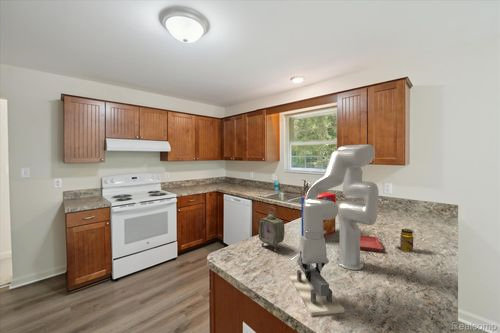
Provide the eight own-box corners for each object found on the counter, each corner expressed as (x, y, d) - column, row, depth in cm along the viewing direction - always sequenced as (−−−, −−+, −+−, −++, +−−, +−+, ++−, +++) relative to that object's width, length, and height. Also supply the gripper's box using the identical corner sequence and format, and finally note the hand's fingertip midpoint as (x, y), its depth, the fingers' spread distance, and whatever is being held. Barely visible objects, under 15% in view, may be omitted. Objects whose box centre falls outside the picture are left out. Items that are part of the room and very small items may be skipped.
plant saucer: (383, 254, 119) (383, 248, 119) (347, 249, 126) (348, 244, 126) (377, 242, 136) (377, 237, 136) (346, 238, 143) (346, 233, 142)
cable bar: (300, 267, 95) (300, 258, 95) (306, 267, 95) (306, 258, 95) (320, 296, 75) (321, 285, 75) (329, 295, 75) (329, 284, 75)
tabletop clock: (258, 245, 132) (258, 205, 131) (268, 241, 138) (268, 203, 137) (275, 253, 121) (275, 209, 120) (286, 249, 127) (285, 207, 126)
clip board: (289, 277, 97) (289, 266, 96) (314, 275, 98) (314, 263, 98) (311, 316, 73) (311, 301, 73) (344, 312, 74) (344, 297, 74)
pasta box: (311, 242, 136) (311, 198, 135) (301, 238, 143) (301, 197, 142) (335, 232, 153) (335, 194, 152) (325, 229, 160) (325, 192, 159)
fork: (288, 260, 114) (288, 256, 114) (307, 248, 128) (307, 245, 128) (293, 262, 112) (293, 258, 112) (312, 249, 126) (312, 246, 126)
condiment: (414, 254, 118) (415, 232, 118) (396, 250, 122) (396, 230, 122) (412, 249, 125) (413, 228, 124) (395, 246, 129) (395, 226, 128)
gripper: (327, 229, 89) (327, 272, 90) (290, 231, 87) (290, 275, 88) (337, 236, 82) (336, 283, 82) (296, 238, 80) (296, 286, 80)
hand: (312, 278), depth 85 cm, fingers closed on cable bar, 3 cm apart
